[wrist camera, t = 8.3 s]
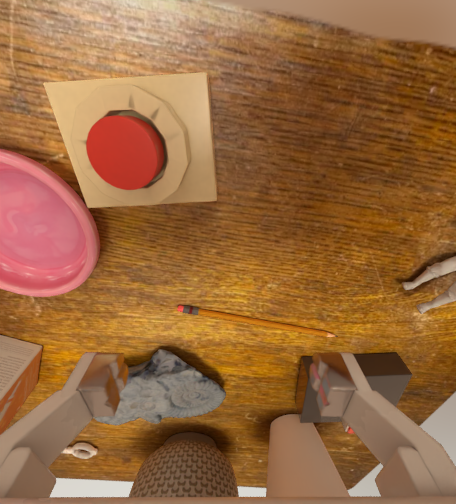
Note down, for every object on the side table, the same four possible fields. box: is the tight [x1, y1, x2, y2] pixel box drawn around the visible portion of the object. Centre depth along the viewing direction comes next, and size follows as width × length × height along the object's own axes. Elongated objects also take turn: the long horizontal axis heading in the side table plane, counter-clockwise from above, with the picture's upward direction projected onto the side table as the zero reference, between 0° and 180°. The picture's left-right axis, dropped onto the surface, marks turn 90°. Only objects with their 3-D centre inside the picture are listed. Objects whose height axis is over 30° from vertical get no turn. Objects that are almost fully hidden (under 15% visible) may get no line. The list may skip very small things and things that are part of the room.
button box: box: [43, 72, 218, 208], centre depth 17 cm, size 10×8×4 cm
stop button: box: [86, 115, 164, 190], centre depth 15 cm, size 4×4×2 cm
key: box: [62, 443, 98, 459], centre depth 42 cm, size 12×1×4 cm
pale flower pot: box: [266, 414, 350, 497], centre depth 33 cm, size 12×12×14 cm
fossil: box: [93, 349, 226, 425], centre depth 32 cm, size 13×18×4 cm
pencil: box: [178, 305, 338, 337], centre depth 28 cm, size 19×1×1 cm, turn 76°
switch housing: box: [295, 353, 412, 423], centre depth 32 cm, size 12×10×3 cm
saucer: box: [0, 149, 100, 297], centre depth 20 cm, size 12×12×3 cm
